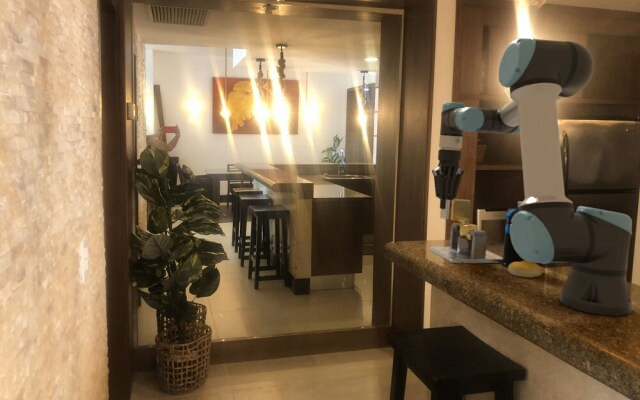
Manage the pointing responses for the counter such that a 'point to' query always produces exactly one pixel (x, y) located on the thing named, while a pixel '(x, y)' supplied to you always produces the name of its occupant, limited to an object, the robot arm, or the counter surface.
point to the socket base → (464, 257)
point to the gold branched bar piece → (463, 217)
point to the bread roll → (524, 269)
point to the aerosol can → (509, 250)
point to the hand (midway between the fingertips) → (444, 218)
